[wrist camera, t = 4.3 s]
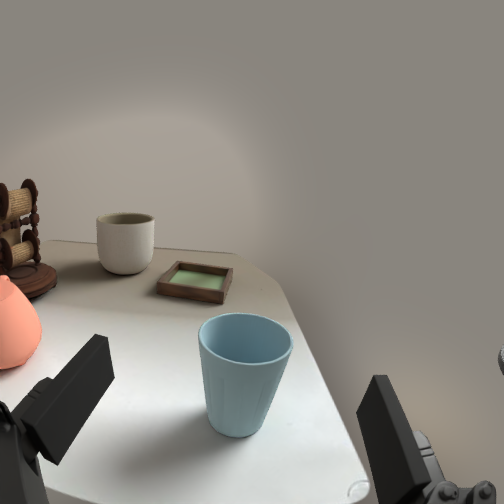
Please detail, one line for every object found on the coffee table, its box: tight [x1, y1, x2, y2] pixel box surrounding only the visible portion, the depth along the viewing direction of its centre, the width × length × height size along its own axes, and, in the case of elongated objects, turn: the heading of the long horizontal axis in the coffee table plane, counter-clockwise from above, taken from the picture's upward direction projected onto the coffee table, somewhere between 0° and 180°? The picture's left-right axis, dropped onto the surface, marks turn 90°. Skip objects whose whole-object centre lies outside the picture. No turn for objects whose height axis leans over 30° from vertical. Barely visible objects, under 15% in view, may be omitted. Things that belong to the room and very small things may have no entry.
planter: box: [97, 213, 154, 274], centre depth 58 cm, size 12×12×11 cm
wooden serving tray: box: [157, 261, 233, 304], centre depth 56 cm, size 12×12×2 cm
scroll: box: [0, 179, 57, 298], centre depth 39 cm, size 15×15×20 cm
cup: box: [198, 313, 293, 437], centre depth 25 cm, size 8×8×10 cm
